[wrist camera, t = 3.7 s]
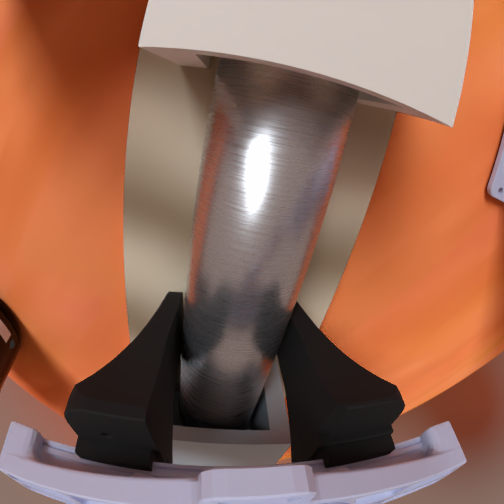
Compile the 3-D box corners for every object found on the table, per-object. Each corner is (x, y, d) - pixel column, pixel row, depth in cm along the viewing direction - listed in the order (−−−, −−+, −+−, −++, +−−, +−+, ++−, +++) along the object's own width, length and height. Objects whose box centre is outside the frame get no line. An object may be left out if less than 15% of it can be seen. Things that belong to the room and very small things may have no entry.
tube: (229, 16, 8) (232, -23, 4) (343, 44, 9) (401, 29, 5) (180, 385, 17) (176, 443, 14) (245, 391, 18) (250, 447, 14)
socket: (158, 350, 16) (145, 436, 11) (277, 361, 17) (292, 443, 12) (160, 397, 18) (153, 468, 14) (258, 405, 19) (266, 473, 15)
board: (183, -78, 6) (180, -88, 5) (410, -19, 8) (421, -24, 7) (140, 385, 19) (138, 396, 18) (277, 396, 21) (279, 407, 20)
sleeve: (209, -49, 6) (199, -129, 2) (384, -4, 8) (474, -33, 3) (180, 65, 9) (138, 46, 4) (362, 103, 10) (452, 127, 5)
